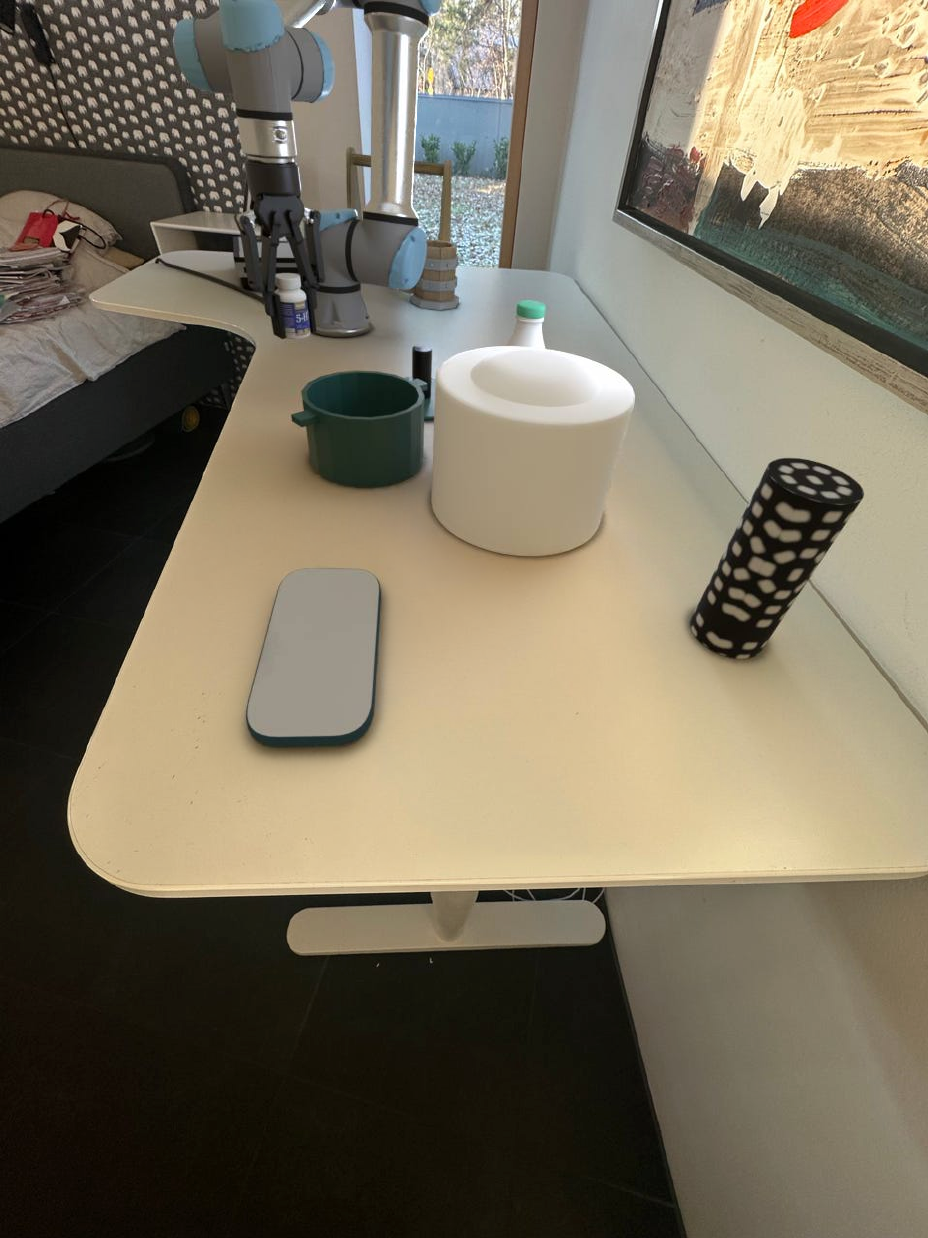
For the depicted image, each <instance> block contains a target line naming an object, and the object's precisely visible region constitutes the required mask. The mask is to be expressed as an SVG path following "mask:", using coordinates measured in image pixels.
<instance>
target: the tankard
mask: <svg viewBox="0 0 928 1238" xmlns="http://www.w3.org/2000/svg"><path fill="white" fill-rule="evenodd" d="M426 242H427V253H426V259H425V264H424V268H423V271H422V274H421V276H420V278H419V280H418V282H417V284H416V285H415V286H414V287H413V288H411V289H408V290H404V289H398V291H399V292H401V293H404V294H411V296H410V303H411V304H413V305H415V306H416V307H418V308H421V309H424V310H425V309H426V310H427V309H428V310H435V311H445V310H446V311H447V310H453V309H454V310H455V309H456V307H457V306H458V304H459V303H460V297H459V296H458V295H455V294H456V293H455V291H456V288H457V287H458V276H456V273H457V272H456V270H457V267H458V266H459V258H460V257H459V255H458V254H457V251H458V249H457V248H458V245H457V244H455V243H453V242H451V241H450V242H447V241H439V240H438V239H434V240H433V239H426Z"/></svg>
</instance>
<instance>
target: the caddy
mask: <svg viewBox="0 0 928 1238" xmlns="http://www.w3.org/2000/svg"><path fill="white" fill-rule="evenodd" d="M345 161H346V163H345V164H346V165H345V168H346V170H345V171H346V175H345V177H346V178H345V180H346V181H345V182H346V183H345V184H346V208H349V209H355V210H356V211H357V214H358V219H361V220H363V213H362V205H361V195H360V185H359V183H360V182H359V174H358V167H364V168H371V154H361V153H356V149H355V148H354V147H351V146H350V147H347V148H346V152H345ZM452 166H453V165H452V160H451V159H450V158H446V159H444V162H443V163H438V162H429V161H421V160H420V161H419V160H414V173H413V174H422V175H429V176H430V175H431V176H439V177H442V180H441V181H442V182H441V185H442V186H441V199H440V213H439V226H438V239H437V240H439V241H447V242H450V243H451V231H452V230H451V229H452V228H451V227H452V225H451V224H452V223H451V221H452V220H451V219H452V178H453V177H452V176H453V175H452Z"/></svg>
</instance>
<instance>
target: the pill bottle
mask: <svg viewBox="0 0 928 1238" xmlns="http://www.w3.org/2000/svg"><path fill="white" fill-rule="evenodd" d="M275 282H276V285H275V287H277V289H275V291H274V293H276V294H278V295H280V301H281V308H282V315H283V321H284V328H285V334H286V339H287V340H303V339H306V338H309V337H310V335H311V333H312V332H310V324H309V315H308V306H307V298H306V294H305V292H304V291H302V290H301V289H300V287H301V280H300V276H299V275H297V274H293V273H280V274H276V275H275Z"/></svg>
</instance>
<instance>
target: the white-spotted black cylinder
mask: <svg viewBox="0 0 928 1238" xmlns="http://www.w3.org/2000/svg"><path fill="white" fill-rule="evenodd" d="M864 496H865V491H864V489H863V487H862V486H861V484H860V483H859V482H858V481H857V480H856V479H855V478H853V477H852V476H850V475H848V474H847V473H845V472H843V471H842V470H840V469H838V468H835V467H833V466H830V465H828V464H825V463H822V462H819V461H815V460H811V459H805V458H798V457H781V458H777V459H774V460H772V461H770V462H769V463H768V465H767V466H766V468H765V470H764V472H763V474H762V476H761V478H760V480H759V482H758V484H757V486H756V488H755V490H754V492H753V494H752V496H751V498H750V499H749V502H748V504H747V505H746V508H745V509H744V512H743V515H742V516H741V518H740V520H739V522H738V524H737V526H736V528H735V530H734V532H733V534H732V536H731V537H730V540H729V541H728V544H727V545H726V548H725V549H724V552H723V554H722V555H721V557H720V560H719V562H718V563H717V566H716V568H715V569H714V571H713V574H712V576H711V577H710V579H709V582H708V583H707V586H706V587H705V589H704V592H703V593H702V595H701V598H700V600H699V601H698V603H697V605H696V607H695V610H694V611H693V613H692V616H691V617H690V621H689V626H690V630H691V632H692V634H693V635H694V637H695V638H696V639H697V640H698V641H699V642H700V643H701V644H702V645H703V646H704V647H705V648H707V649H709V650H711V651H712V652H714V653H716V654H718V655H720V656H724V657H726V658H732V659H738V660H740V659H741V660H743V659H750V658H754V657H756V656H758V655H760V653H761V652H762V651H763V649H764V648H765V646H766V645H767V643H768V642H769V640H770V639H771V637H772V635H774V632H775V631H776V630H777V628H778V626H779V625H780V623H781V622H782V620H783V619H784V618H785V616H786V615H787V613H788V611H789V610H790V609H791V607H792V605H794V603H795V601H796V600H797V598H798V596H799V595H800V593H801V592H802V591H803V589H804V588H805V586H806V585H807V583H808V582H809V580H810V578H812V575H813V574H814V572H815V571H816V569H817V568H818V566H819V565H820V564H821V562H822V560H823V559H824V557H825V556H826V555H827V553H828V552H829V550H830V548H831V547H832V546H833V544H834V543H835V541H836V540H837V538H838V537H839V535H840V534H841V532H842V530H843V529H844V527H846V524H847V523H848V521H849V520H850V518H851V517H852V516H853V514H854V513H855V511H856V509H857V508H858V507H859V505H860V503H861V502H862V500H863V499H864Z"/></svg>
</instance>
